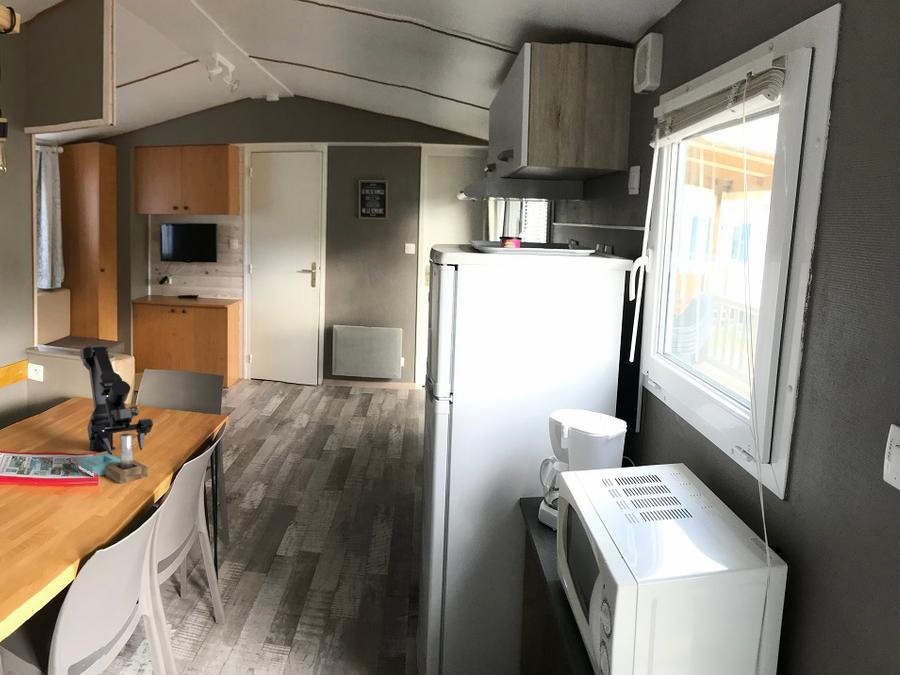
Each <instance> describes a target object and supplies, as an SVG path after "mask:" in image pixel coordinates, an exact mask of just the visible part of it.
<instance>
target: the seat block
mask: <svg viewBox="0 0 900 675" xmlns="http://www.w3.org/2000/svg"><path fill="white" fill-rule="evenodd" d="M94 462H97V464H96V463H94ZM116 463H120V457H118V456H116V455H114V454H112V455H110V454H109V453H108V452H102V453H98V454H95V455H90V456H85V457H80V458H77V466H78V465H79V466H81V467H82V468H84V469H86V470H87V471H90V472H91V473H97V474H98V476H97V477H100V476H103V475H105V476H106V466H107V465H111V464H116Z"/></svg>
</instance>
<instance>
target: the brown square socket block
mask: <svg viewBox="0 0 900 675" xmlns="http://www.w3.org/2000/svg"><path fill="white" fill-rule="evenodd" d="M105 477H107V478H109V479H110V480H113V481H114V482H116V483H118V484H124V483H129V482H132V481H136V480H140V479H143V478H147V477H148V466H147V465H145V464H143V463H140V462H138V461H137V460H135V459H133V468H129V469H125V470H122V469H120V463H116V464H111V465H107V466H106V474H105Z"/></svg>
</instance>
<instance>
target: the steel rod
mask: <svg viewBox="0 0 900 675" xmlns="http://www.w3.org/2000/svg"><path fill="white" fill-rule="evenodd" d="M133 435H134V434H133V433H122V434H121V435H120V437H119V439H120V442H119V444H120V456H119V458H120V469H122V470H125V469H129V468H133V460H134V459H133V455H134V453H133V449H134V448H133V445H134V443H133V442H134V441H133V439H134V438H133V437H134V436H133Z"/></svg>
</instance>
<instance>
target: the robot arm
mask: <svg viewBox="0 0 900 675" xmlns="http://www.w3.org/2000/svg"><path fill="white" fill-rule="evenodd" d="M109 355H110V354H109V347H108V346H105V345H87V346H86V345H85V346H83V348H82V349H80V351H79V358H80V360H82V366H84V367H85V368H86V369H87V371H88V372H89V380H90V387H91V394H92V401H93V410H92V413H91V415H90V416H89V417H90V419H89V421H88V424H87V433H88V436H87V437H88V441H89V447H88V448H89V450H91V451H93V452H95V453H97V454H101V453H109V454H110V455H113V450H116V447H115V446H114V434H117V433H121V432H130V431H136V433H137V434H136V439H137V442H138V448H139V450H140V451H142V450H143V446H144V440H145V437H146V436H147V434H149V433H150V432H151V431H152V428H153V426H154V422H153V420H152V419H151V418H144V419H138V421H137V423H135V424H131V423H132V421H133V418H134V417H137V416H138V415H139V409H138V406H137V405H133V406H132V405H131V406H130V407H129V408H127V407H126V403H125V402H126V401H128V400H127V399H128V397H129V394H130V392H131V386H130V384H129V383H128V382H127V381H125V380H123V379H122V377H121V375H120V374H119V373H117V372H115V371H114V368H113V365H112V362H111V359H110V356H109Z"/></svg>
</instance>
